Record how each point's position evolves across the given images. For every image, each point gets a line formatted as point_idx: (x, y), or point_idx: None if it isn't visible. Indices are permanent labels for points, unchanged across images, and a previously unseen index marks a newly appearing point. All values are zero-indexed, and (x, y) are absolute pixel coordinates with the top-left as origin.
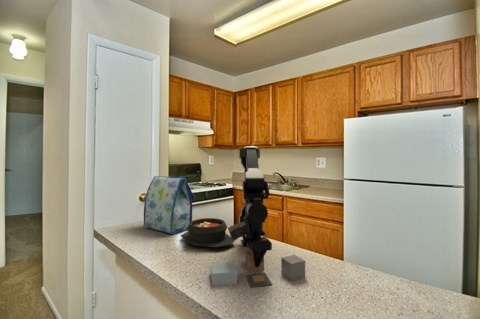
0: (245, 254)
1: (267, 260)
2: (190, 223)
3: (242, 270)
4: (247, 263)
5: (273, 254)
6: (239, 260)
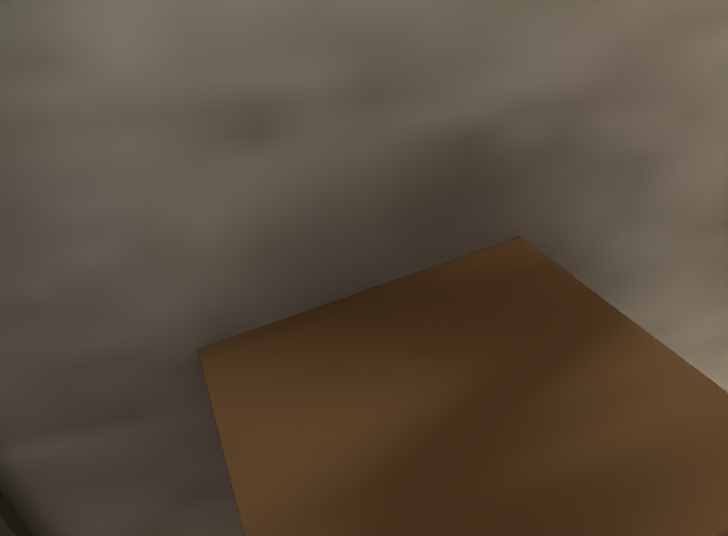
0: (670, 362)
1: None
2: None
3: (185, 218)
4: (352, 373)
5: None
6: (688, 92)
